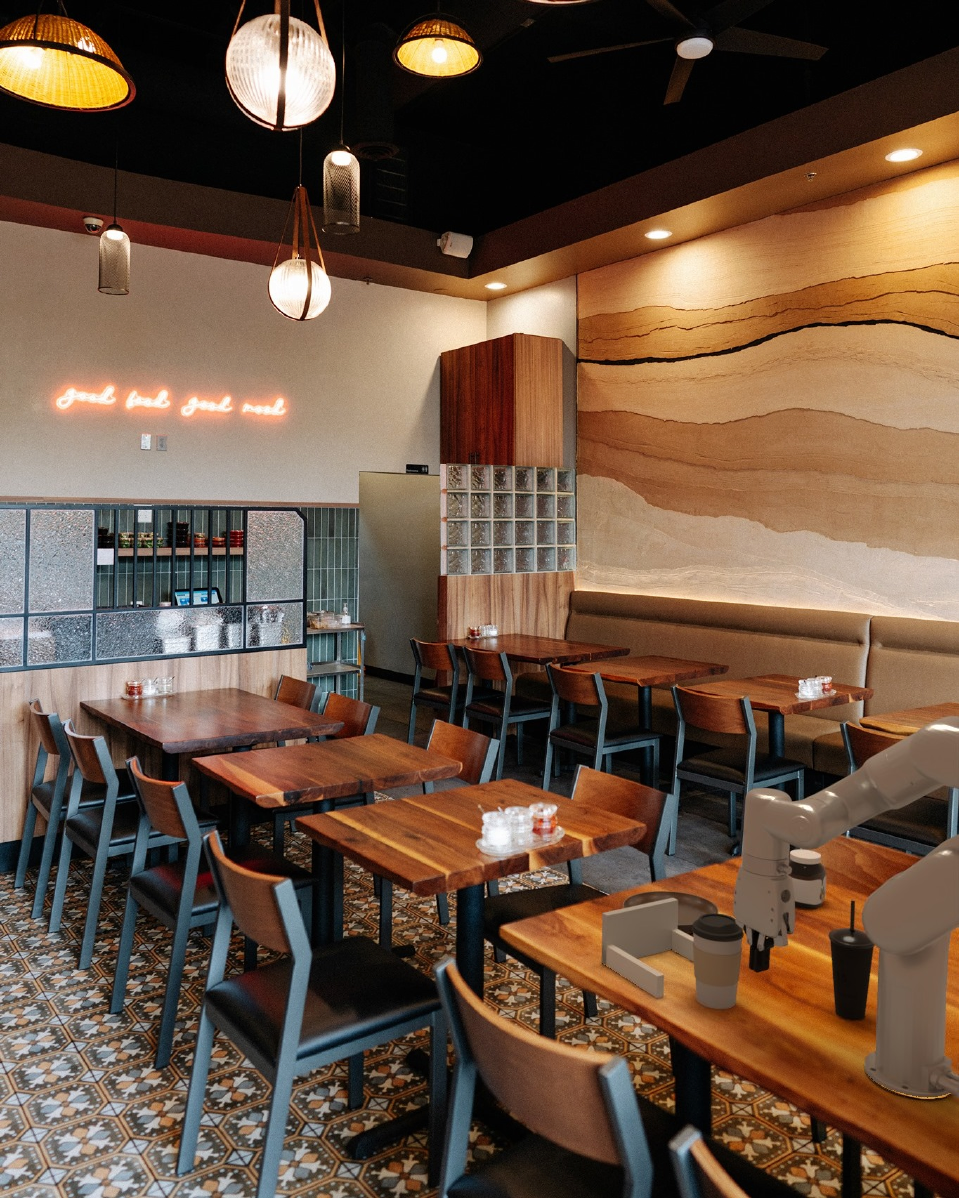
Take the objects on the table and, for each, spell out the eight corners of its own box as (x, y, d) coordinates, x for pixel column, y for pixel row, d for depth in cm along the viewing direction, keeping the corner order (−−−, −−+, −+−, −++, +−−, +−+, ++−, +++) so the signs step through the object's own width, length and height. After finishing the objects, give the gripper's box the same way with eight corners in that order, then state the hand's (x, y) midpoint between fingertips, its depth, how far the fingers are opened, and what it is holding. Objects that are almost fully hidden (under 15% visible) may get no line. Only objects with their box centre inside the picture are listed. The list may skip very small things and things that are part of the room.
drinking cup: (834, 999, 168) (837, 890, 167) (879, 1012, 163) (882, 900, 162) (820, 1015, 162) (823, 901, 161) (865, 1029, 157) (868, 912, 156)
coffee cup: (680, 993, 169) (681, 912, 169) (719, 984, 173) (721, 905, 172) (712, 1016, 161) (714, 930, 160) (753, 1006, 165) (755, 922, 164)
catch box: (730, 977, 176) (731, 925, 176) (657, 998, 167) (658, 943, 167) (672, 945, 191) (673, 897, 190) (601, 963, 182) (602, 912, 181)
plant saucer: (603, 920, 204) (603, 905, 204) (656, 897, 219) (657, 883, 219) (684, 948, 190) (685, 932, 190) (736, 921, 205) (736, 906, 205)
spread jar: (809, 913, 209) (810, 862, 209) (763, 899, 218) (764, 850, 217) (834, 900, 217) (835, 851, 217) (790, 888, 226) (791, 840, 225)
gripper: (816, 874, 152) (809, 983, 153) (748, 847, 165) (742, 947, 166) (783, 881, 148) (777, 993, 149) (716, 852, 161) (711, 955, 162)
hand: (758, 968), depth 158 cm, fingers closed
